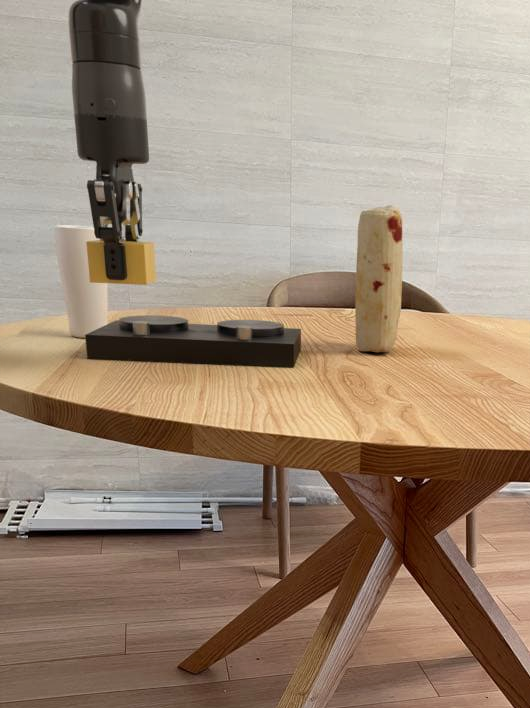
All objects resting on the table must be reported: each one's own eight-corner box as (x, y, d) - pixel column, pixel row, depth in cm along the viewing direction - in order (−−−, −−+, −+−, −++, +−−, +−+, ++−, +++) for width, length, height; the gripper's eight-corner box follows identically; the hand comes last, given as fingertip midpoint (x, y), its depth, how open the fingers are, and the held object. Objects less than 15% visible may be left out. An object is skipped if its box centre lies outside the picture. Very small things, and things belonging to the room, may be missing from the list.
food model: (402, 357, 117) (410, 206, 110) (356, 355, 117) (360, 203, 109) (395, 346, 126) (402, 206, 119) (352, 345, 126) (356, 203, 118)
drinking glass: (61, 339, 117) (50, 226, 111) (68, 332, 123) (57, 224, 117) (112, 340, 118) (103, 228, 113) (116, 333, 124) (107, 227, 119)
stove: (87, 358, 104) (83, 321, 103) (117, 341, 117) (114, 308, 115) (293, 367, 106) (293, 331, 104) (300, 350, 119) (301, 317, 117)
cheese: (89, 282, 94) (86, 241, 92) (101, 278, 98) (98, 239, 97) (146, 285, 94) (144, 244, 93) (156, 281, 99) (153, 242, 97)
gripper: (94, 118, 96) (107, 271, 103) (52, 105, 83) (70, 281, 89) (160, 122, 97) (168, 274, 103) (129, 109, 83) (141, 284, 90)
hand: (123, 276), depth 96 cm, fingers closed on cheese, 4 cm apart
